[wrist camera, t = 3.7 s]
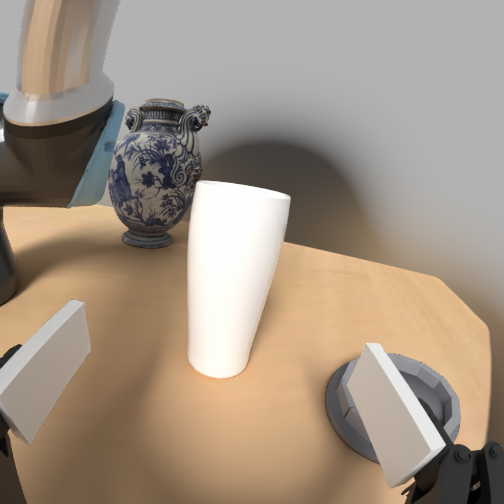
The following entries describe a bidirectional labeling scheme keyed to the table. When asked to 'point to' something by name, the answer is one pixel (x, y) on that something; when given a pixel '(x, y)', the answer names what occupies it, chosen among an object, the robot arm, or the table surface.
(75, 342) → the robot arm
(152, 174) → the decorative vase
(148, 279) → the table surface
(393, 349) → the table surface
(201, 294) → the drinking glass
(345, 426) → the coaster
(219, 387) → the table surface
